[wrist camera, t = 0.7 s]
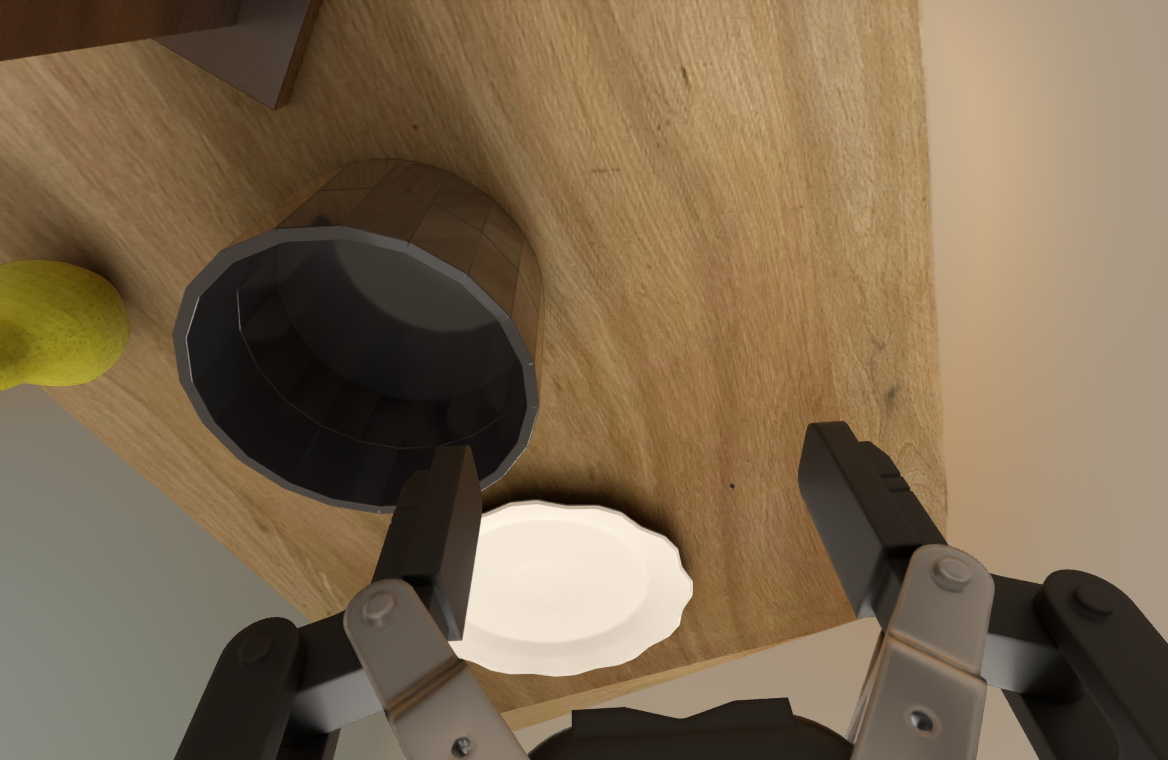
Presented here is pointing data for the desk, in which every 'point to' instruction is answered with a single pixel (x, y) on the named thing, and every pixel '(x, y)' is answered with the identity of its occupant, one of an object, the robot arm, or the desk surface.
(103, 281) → the fruit
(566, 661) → the plate
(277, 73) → the stand
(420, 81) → the desk surface
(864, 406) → the desk surface
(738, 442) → the desk surface
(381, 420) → the pot
